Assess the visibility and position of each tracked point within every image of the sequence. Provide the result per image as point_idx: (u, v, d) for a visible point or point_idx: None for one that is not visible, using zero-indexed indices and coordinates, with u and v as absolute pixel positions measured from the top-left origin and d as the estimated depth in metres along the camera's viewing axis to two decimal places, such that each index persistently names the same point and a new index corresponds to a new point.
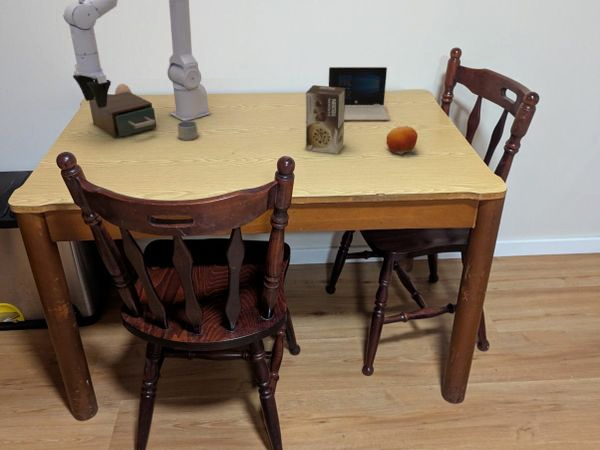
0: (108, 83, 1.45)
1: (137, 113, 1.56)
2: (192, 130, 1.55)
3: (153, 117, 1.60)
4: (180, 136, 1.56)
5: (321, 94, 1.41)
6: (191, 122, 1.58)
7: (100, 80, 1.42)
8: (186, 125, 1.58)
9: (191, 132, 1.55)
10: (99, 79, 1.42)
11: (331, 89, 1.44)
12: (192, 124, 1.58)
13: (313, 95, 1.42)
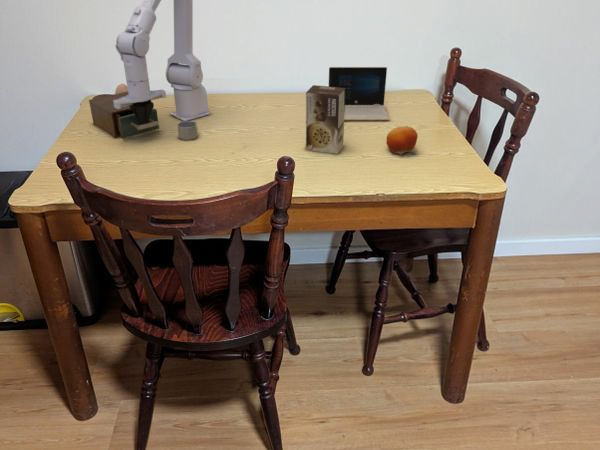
0: (135, 109, 1.49)
1: None
2: (192, 130, 1.55)
3: (156, 119, 1.59)
4: (180, 136, 1.56)
5: (321, 94, 1.41)
6: (191, 122, 1.58)
7: (114, 104, 1.47)
8: (186, 125, 1.58)
9: (191, 132, 1.55)
10: (114, 103, 1.47)
11: (331, 89, 1.44)
12: (192, 124, 1.58)
13: (314, 95, 1.42)
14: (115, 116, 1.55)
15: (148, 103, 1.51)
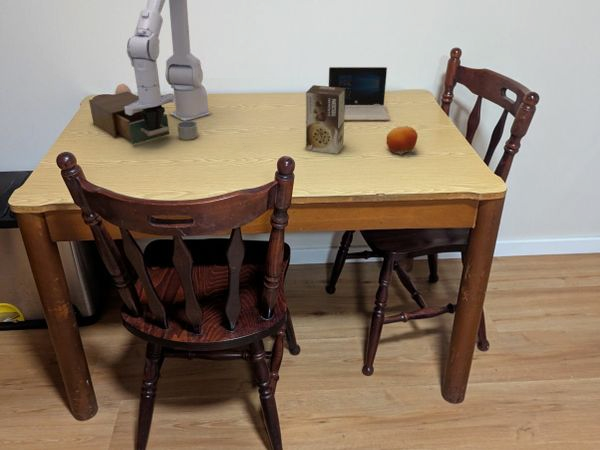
0: (147, 114, 1.45)
1: None
2: (192, 130, 1.55)
3: (166, 124, 1.55)
4: (180, 136, 1.56)
5: (321, 94, 1.41)
6: (191, 122, 1.58)
7: (125, 111, 1.43)
8: (186, 125, 1.58)
9: (191, 132, 1.55)
10: (125, 109, 1.43)
11: (331, 89, 1.44)
12: (192, 124, 1.58)
13: (314, 95, 1.42)
14: (125, 122, 1.51)
15: (159, 108, 1.48)
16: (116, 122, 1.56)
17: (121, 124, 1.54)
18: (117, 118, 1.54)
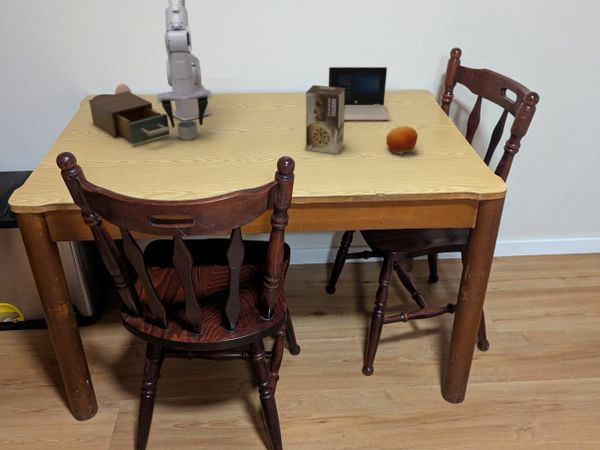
0: None
1: (150, 120, 1.52)
2: (192, 130, 1.55)
3: (166, 124, 1.55)
4: (180, 136, 1.56)
5: (321, 94, 1.41)
6: (191, 122, 1.58)
7: None
8: (186, 125, 1.58)
9: (191, 132, 1.55)
10: (210, 94, 1.53)
11: (331, 89, 1.44)
12: (192, 124, 1.58)
13: (314, 95, 1.42)
14: (125, 122, 1.51)
15: None
16: (116, 122, 1.56)
17: (121, 124, 1.54)
18: (117, 118, 1.54)
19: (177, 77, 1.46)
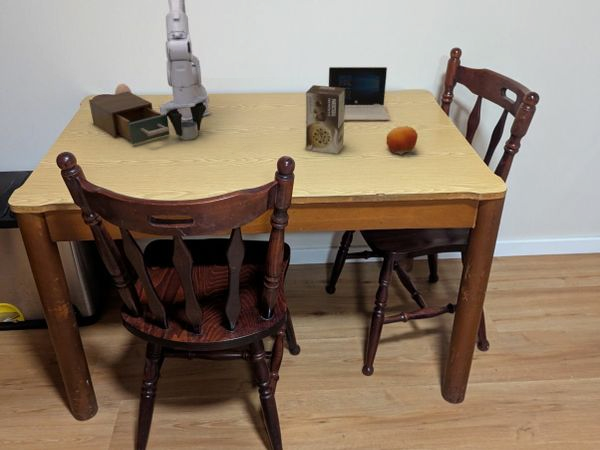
0: None
1: (150, 120, 1.52)
2: (192, 130, 1.55)
3: (166, 124, 1.55)
4: (180, 136, 1.56)
5: (321, 94, 1.41)
6: (191, 122, 1.58)
7: None
8: (186, 125, 1.58)
9: (191, 132, 1.55)
10: (208, 98, 1.56)
11: (331, 89, 1.44)
12: (192, 124, 1.58)
13: (314, 95, 1.42)
14: (125, 122, 1.51)
15: None
16: (116, 122, 1.56)
17: (121, 124, 1.54)
18: (117, 118, 1.54)
19: (178, 85, 1.47)
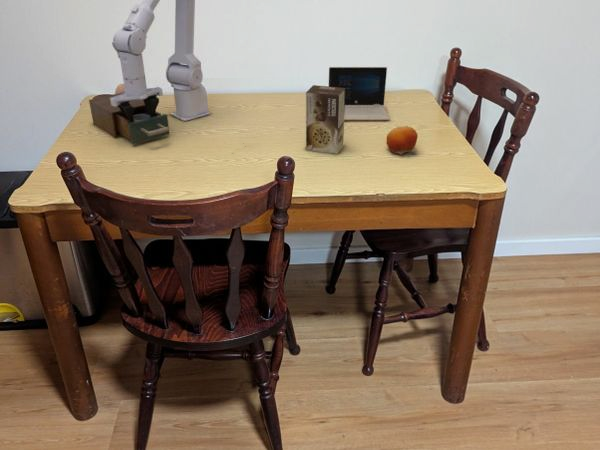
0: None
1: (150, 120, 1.52)
2: None
3: (166, 124, 1.55)
4: None
5: (321, 94, 1.41)
6: (145, 115, 1.57)
7: None
8: (140, 118, 1.57)
9: None
10: (161, 91, 1.55)
11: (331, 89, 1.44)
12: (146, 117, 1.57)
13: (314, 95, 1.42)
14: (125, 122, 1.51)
15: None
16: (116, 122, 1.56)
17: (121, 124, 1.54)
18: (117, 118, 1.54)
19: (123, 76, 1.47)
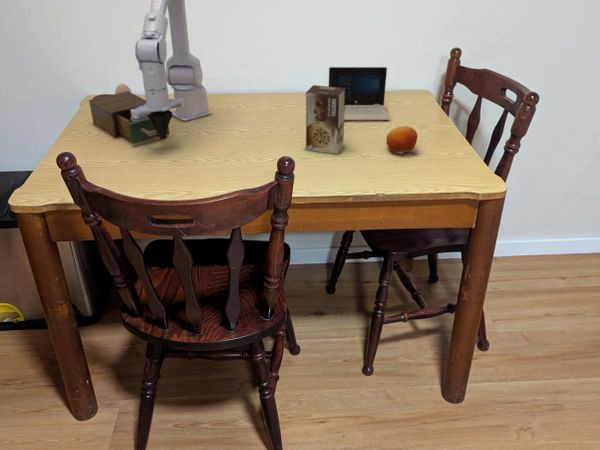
0: None
1: (150, 120, 1.52)
2: None
3: None
4: None
5: (321, 94, 1.41)
6: (145, 115, 1.57)
7: None
8: (140, 119, 1.57)
9: None
10: (184, 102, 1.48)
11: (331, 89, 1.44)
12: (146, 117, 1.57)
13: (314, 95, 1.42)
14: (125, 122, 1.51)
15: None
16: (116, 122, 1.56)
17: (121, 124, 1.54)
18: (117, 118, 1.54)
19: (148, 88, 1.39)
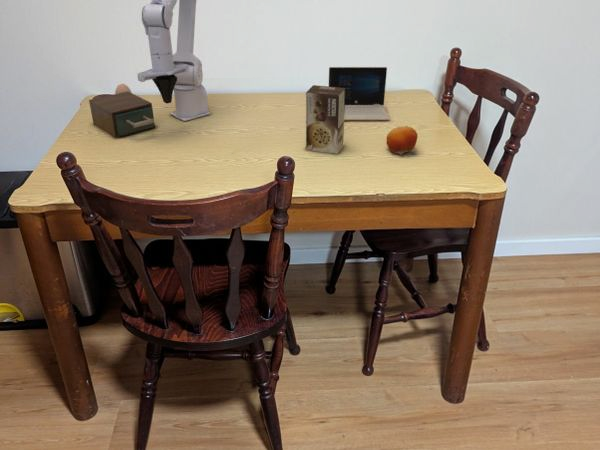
0: None
1: (136, 112, 1.57)
2: None
3: (152, 116, 1.61)
4: None
5: (321, 94, 1.41)
6: None
7: None
8: None
9: None
10: (188, 68, 1.54)
11: (331, 89, 1.44)
12: (132, 110, 1.62)
13: (314, 95, 1.42)
14: None
15: None
16: None
17: None
18: None
19: (153, 52, 1.45)
